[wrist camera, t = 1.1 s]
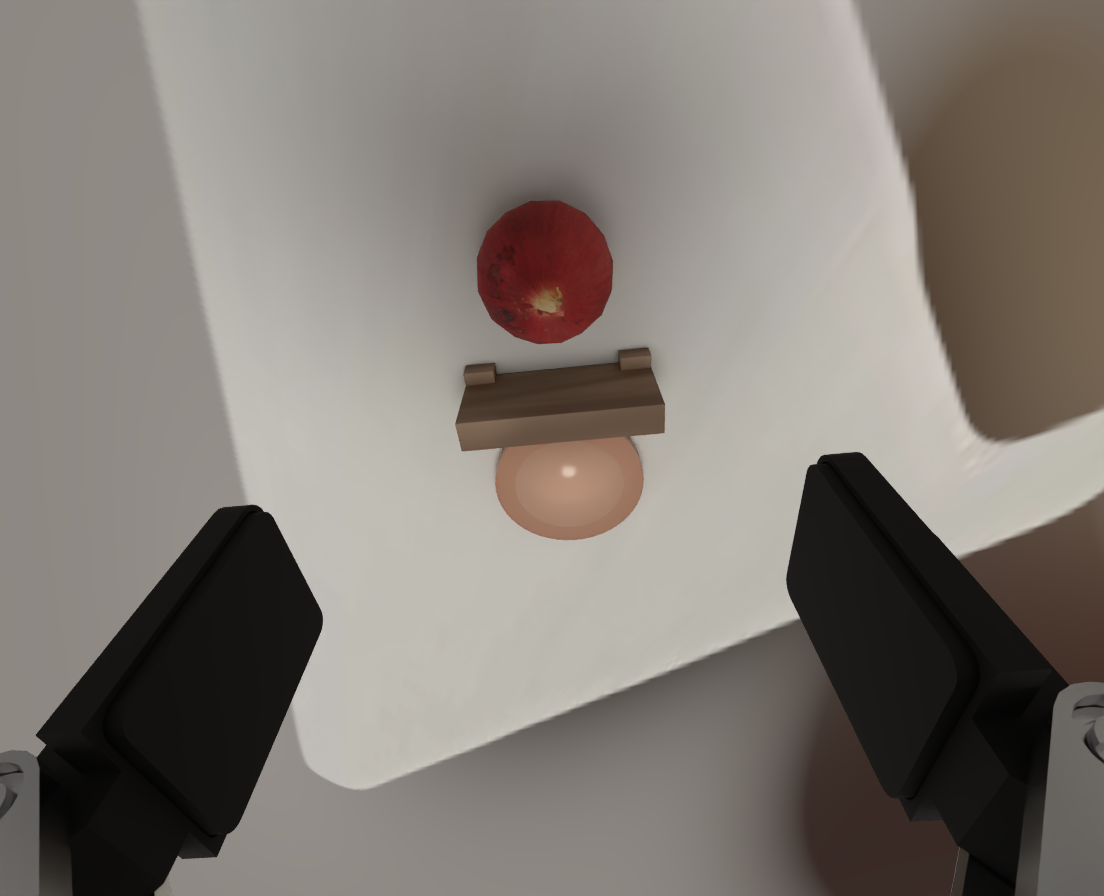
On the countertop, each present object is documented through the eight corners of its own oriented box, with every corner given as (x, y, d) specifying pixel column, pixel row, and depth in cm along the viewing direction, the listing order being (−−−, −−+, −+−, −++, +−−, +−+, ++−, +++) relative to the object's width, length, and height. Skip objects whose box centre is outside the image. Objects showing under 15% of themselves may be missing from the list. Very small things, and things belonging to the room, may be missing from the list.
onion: (516, 327, 28) (506, 400, 21) (464, 220, 25) (433, 266, 19) (620, 283, 27) (644, 346, 20) (578, 165, 24) (590, 194, 17)
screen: (465, 366, 29) (452, 411, 25) (648, 347, 29) (665, 390, 25) (475, 413, 31) (464, 462, 27) (648, 396, 30) (664, 444, 26)
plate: (485, 419, 31) (483, 430, 30) (639, 405, 31) (642, 415, 30) (508, 532, 36) (507, 545, 35) (641, 521, 36) (644, 534, 35)
